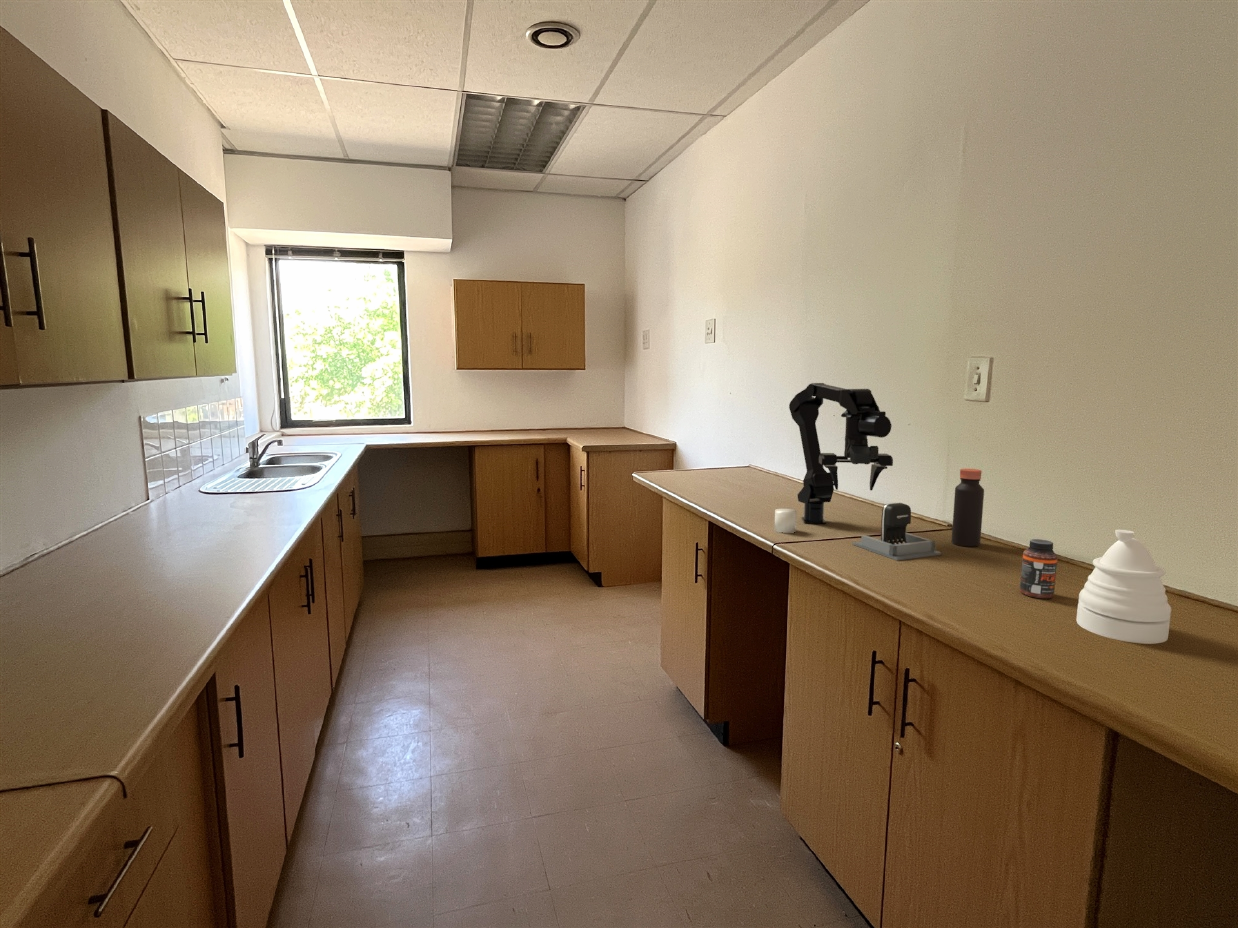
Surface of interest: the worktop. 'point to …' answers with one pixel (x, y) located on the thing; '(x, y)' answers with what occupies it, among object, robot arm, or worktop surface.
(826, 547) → the worktop surface
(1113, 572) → the honey pot
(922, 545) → the tray
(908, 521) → the battery charger
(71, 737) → the worktop surface
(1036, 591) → the supplement bottle
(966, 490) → the vinegar
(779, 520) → the white rounded cube
